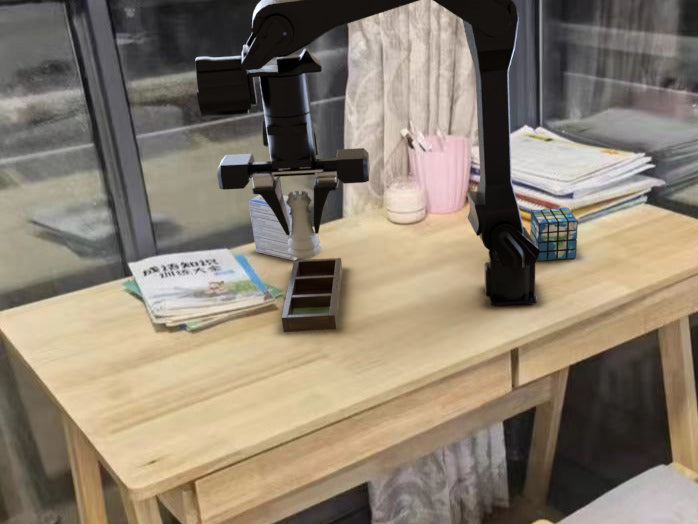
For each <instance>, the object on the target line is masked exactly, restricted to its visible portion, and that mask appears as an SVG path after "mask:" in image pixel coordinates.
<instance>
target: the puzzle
mask: <svg viewBox="0 0 698 524" xmlns="http://www.w3.org/2000/svg"><path fill="white" fill-rule="evenodd" d="M529 223H530V227H529V229H530V230H529V235H530V236H531V238H532V239H533V241H534V242H535V244H536V245H537V247H538V248H539V250H540V253H539V256H538V258H537V262H544V261H554V260H555V261H556V260H565V259H576V258H577V247H578V246H577V245H578V227H579V220H578V219H577V218H576V216H575V215H574V213H573V212H572V211H571V209H570V208H569V207H555V208H543V209H531V210H530V222H529Z"/></svg>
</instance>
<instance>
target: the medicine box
mask: <svg viewBox="0 0 698 524" xmlns="http://www.w3.org/2000/svg"><path fill="white" fill-rule="evenodd" d="M283 198H284V202H285V206H286V210H287V214H288V219H289V225H290V235H291V232H292V218H291V215H290V214H289V213H290V211H291V208H290V207H289V206H288V205H287V203H286V201H287V199H288V195H283ZM248 208H249V214H250V220H251V227H252V233H253V240H254V245H255V250H256V253H259V254H264V255H268V256H273V257H278V258H281V259H286V260H290V261H294V260H299V258H296V257H293V256H292V255H291V254H290V253H289V252H288V249H289V248H290V247H289V246H288V240H289V239H290V235H286V233H285V231H284V230H283V228H282V226H281V224H280V223H279V221H278V219H277V217H276V216H275V214H274V212H273V211H272V209H271V208H270V207H269V205H268V204H267V203H266V201H265V200H264V199H263V197H262V196H261V195H260V194H258V195H257V196H255V197H253V198H251V199H250V200H248Z"/></svg>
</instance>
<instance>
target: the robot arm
mask: <svg viewBox="0 0 698 524" xmlns="http://www.w3.org/2000/svg"><path fill="white" fill-rule="evenodd" d="M432 1H433V2H435V3H436V4H438V5H439V6H441V7H442V8H444V9H445V10H447V11H448V12H450V13H451V14H453V15H455V16H456V17H458V18H459V19H461V20H462V25H463V29H464V33H465V38H466V42H467V45H468V49H469V53H470V56H471V60H472V64H473V68H474V74H475V75H474V76H475V77H474V78H475V94H476V96H475V98H476V116H477V118H476V119H477V136H478V137H477V138H478V157H479V159H478V160H479V181H478V186H477V189H476V190H475V191H473V190H468V191H466V195H467V200H468V205H469V212H468V214H467V219H468V222H469V223H470V224H469V225H471V227H472V229H473V231H474V233H475V235H476V236H477V237H479V238H480V240H481V242H482V244H483V246H484V248H485V249H487V250H488V252H487V253H488V255H487V256H488V261H485V262H484V264H483V265H484V266H483V267H484V273H483V274H484V275H483V276H484V277H483V278H484V293H485V296H486V297H488V300H489V304H490V305H491V306H511V305H512V306H513V305H530V304H531V305H532V304H537V303H538V298H537V295H536V266H537V265H536V263H537V262H538V260H537V258H538V256H539V253H540V250H539V248H538V247H537V245H536V244H535V242H534V241H533V239H532V238H531V236H530V232H529V231H528V230H527V229H526V227H525V226H524V225H523V220H522V215H521V210H520V206H519V202H518V199H517V196H516V192H515V189H514V185H513V178H512V176H513V174H512V147H511V146H512V144H511V143H512V142H511V112H510V108H511V107H510V77H509V76H510V75H509V74H510V67H511V64H512V60H513V56H514V53H515V50H516V45H517V37H518V30H519V29H518V28H519V21H520V20H519V19H520V17H519V9H518V7H517V5H516V3H515V2H514V1H513V0H432ZM416 2H420V0H260V1H259V2H258V3H257V4H256V6H255V8H254V10H253V12H252V19H251V20H252V22H251V25H252V26H251V35H250V36H249V38H248V39H247V41H246V44H243V46H242V51H241V55H233V56H232V55H231V56H220V57H218V56H217V57H212V56H197V57H196V58H195V61H194V65H195V74H196V84H197V85H196V86H197V89H196V97H197V102H198V108H199V111H200V116H201V118H202V119H213V118H214V119H215V118H225V117H227V118H228V117H239V116H250V111H252V110H253V107H256V106H258V97H257V91H256V84H255V83H256V82H255V78H258V79H259V87H260V93H261V100H262V107H263V114H264V120H261V138H262V144H263V145H262V146H264V147H266V148H268V151H269V157H270V160H268V161H255V158H254V155H253V153H237V154H225V155H224V157H223V158H222V159H221V161H220V163H219V165H218V167H217V169H216V176H217V183H218V188H219V189H220V190H223V191H225V190H242V189H243V190H245V188H246V187H247V185H248V184H249V183H250V179H251V182H252V189H251V192H252V194H253V195H261V196H262V197H263V199H264V200H265V201H266V203H267V204H268V205H269V207H270V208H271V209H272V211H273V212H274V214H275V216H276V217H277V219H278V221H279V223H280V224H281V226H282V228H283V230H284V231H285V233H286V235H290V225H289V219H288V214H287V210H286V206H285V202H284V198H283V196H284V195H283V194H284V193H283V190H282V183H281V182H282V181H281V177H297V176H299V177H300V176H314V178H315V180H314V183H313V184H314V186H313V227H314V228H313V230H314V232H315V234H316V235H317V234H319V232H320V227H321V222H322V216H323V211H324V207H325V205H326V202H327V199H328V197H329V194H330V192H331V191H332V192H333V191H337V190H338V188H339V182H341V183H342V184H344V185H345V184H364V183H367V182H369V181H370V174H371V173H370V171H371V166H370V163H371V162H370V154H369V152H368V151H367V150H366V149H365V147H357V148H356V147H355V148H339V149H337V150H336V157H328V158H317V156H319V143H318V135H317V129H316V126H315V125H314V122H313V114H312V105H311V96H310V88H309V78H308V74H312V73H313V74H314V73H316V74H317V73H321V72H322V71H323V65H322V61H321V60H319V59H318V58H317V57H316V56H314V55H313V54H312V53H311V52H310V50H309V48H307V46H309V45H311V44H312V43H314V42H315V41H316V40H318V39H320V38H321V37H322V36H325V34H327V33H328V32H330V31H332V30H334V29H336V28H339V27H342V26H346V25H348V24H351V23H354V22H357V21H360V20H363V19H366V18H370V17H373V16H376V15H379V14H383V13H385V12H388V11H391V10H395V9H398V8H400V7H404V6H407V5H410V4H413V3H416ZM301 49H303V50H302V52H301V53H300V54H299V55H296V56H290V55H293V54H294V53H296V52H298V51H299V50H301ZM274 58H276V60H275V61H276V64H269V65H267V64H268V63H269V62H271V60H273V59H274Z"/></svg>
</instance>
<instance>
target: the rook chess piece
mask: <svg viewBox="0 0 698 524" xmlns="http://www.w3.org/2000/svg"><path fill="white" fill-rule="evenodd" d="M287 196H288V199H287V201H286V203H287V205H288V206H289V207H290V208H291V211H290V213H289V214H290V215H291V218H292V232H291V235H290V239H289V240H288V246H289V247H290V248H289V249H288V252H289V253H290V254H291V255H292V256H293V257H296V258H298V259H309V258H310V259H311V258H313V257H315V256H317V255H319V253H320V252H321V250H322V246H321V245H320V243H321V239H320V237H319V236H318V235H317V234H315V229H314V228H313V225H312V220H311V213H312V210H311V209H310V204H311V202H312V198H311V197H310V196H309V193H308V192H307V191H306V190H301V193H300V190H294V192H293V191H290V192H289V193H288V194H287Z"/></svg>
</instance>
